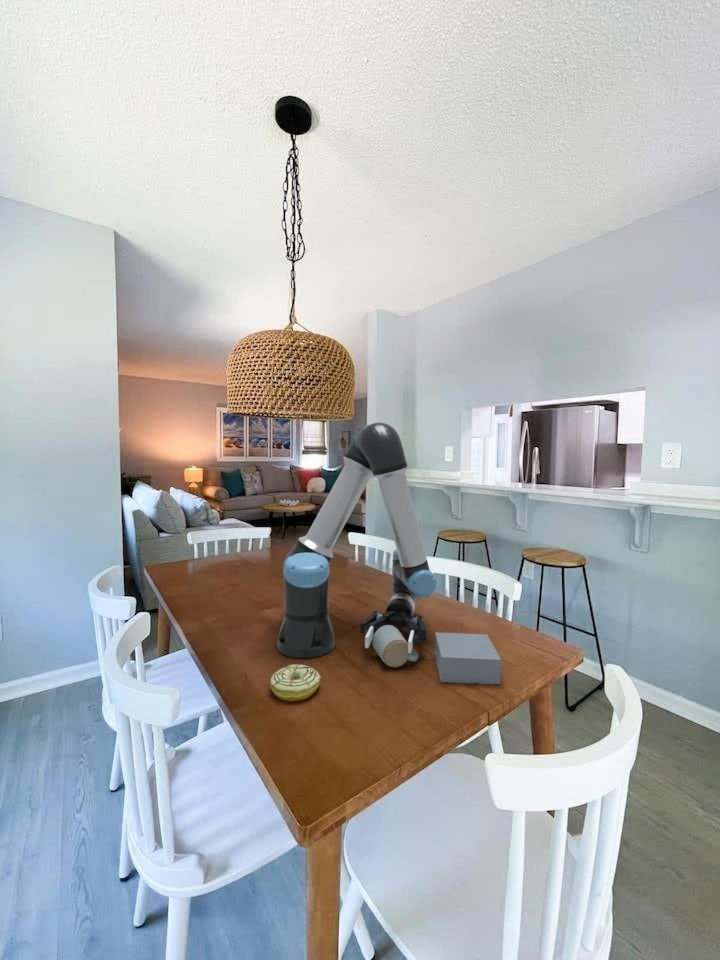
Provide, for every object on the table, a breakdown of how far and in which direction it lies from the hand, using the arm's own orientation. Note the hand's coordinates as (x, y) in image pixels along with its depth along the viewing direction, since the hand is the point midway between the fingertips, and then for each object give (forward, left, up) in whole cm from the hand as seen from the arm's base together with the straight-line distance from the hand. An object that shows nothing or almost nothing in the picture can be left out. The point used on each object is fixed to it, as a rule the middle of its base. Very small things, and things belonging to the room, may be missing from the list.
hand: (387, 645), depth 97 cm
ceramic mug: (+1, +5, -6) cm, 8 cm away
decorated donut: (-18, -13, -7) cm, 23 cm away
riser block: (+18, +5, -6) cm, 20 cm away
